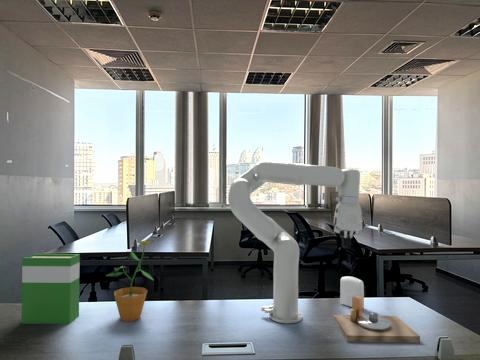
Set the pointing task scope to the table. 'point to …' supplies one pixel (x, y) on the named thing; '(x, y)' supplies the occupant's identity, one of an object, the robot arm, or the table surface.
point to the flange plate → (368, 317)
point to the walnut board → (360, 334)
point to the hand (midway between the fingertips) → (345, 247)
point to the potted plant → (130, 292)
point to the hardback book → (50, 288)
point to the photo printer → (351, 290)
